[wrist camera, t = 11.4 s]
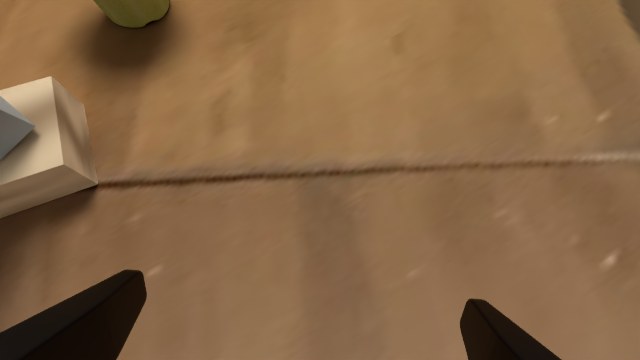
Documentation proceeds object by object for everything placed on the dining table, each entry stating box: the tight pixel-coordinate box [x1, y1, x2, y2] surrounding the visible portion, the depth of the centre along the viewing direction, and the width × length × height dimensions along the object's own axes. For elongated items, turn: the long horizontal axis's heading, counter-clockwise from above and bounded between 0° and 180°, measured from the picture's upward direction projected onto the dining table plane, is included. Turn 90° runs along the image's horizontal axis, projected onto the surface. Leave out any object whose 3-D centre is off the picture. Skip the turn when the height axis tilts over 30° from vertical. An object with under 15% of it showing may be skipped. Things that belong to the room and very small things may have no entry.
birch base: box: [0, 76, 98, 218], centre depth 23 cm, size 8×8×4 cm
